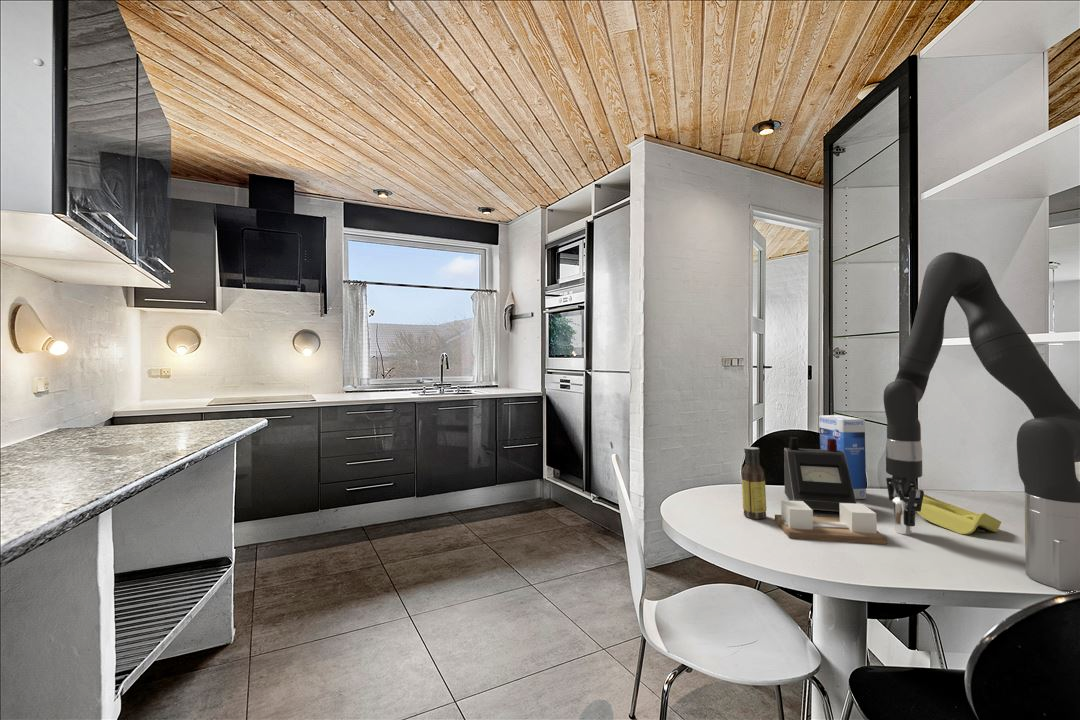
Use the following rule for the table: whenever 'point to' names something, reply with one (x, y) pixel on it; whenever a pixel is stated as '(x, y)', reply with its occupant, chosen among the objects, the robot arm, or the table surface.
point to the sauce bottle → (753, 485)
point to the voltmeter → (817, 476)
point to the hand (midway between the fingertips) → (904, 522)
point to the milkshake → (900, 517)
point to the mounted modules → (850, 515)
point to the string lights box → (847, 446)
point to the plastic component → (955, 517)
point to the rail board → (830, 531)
